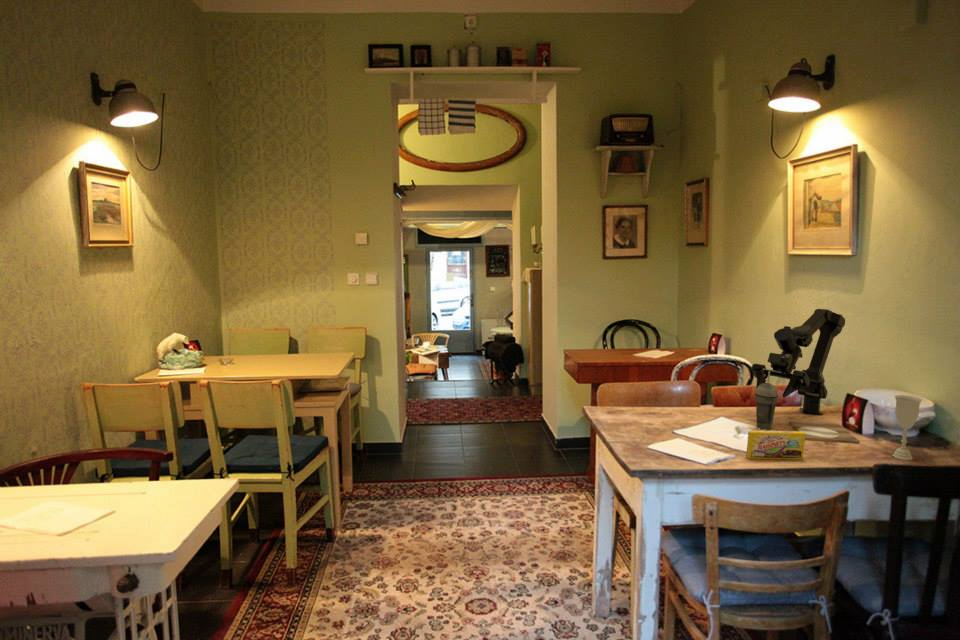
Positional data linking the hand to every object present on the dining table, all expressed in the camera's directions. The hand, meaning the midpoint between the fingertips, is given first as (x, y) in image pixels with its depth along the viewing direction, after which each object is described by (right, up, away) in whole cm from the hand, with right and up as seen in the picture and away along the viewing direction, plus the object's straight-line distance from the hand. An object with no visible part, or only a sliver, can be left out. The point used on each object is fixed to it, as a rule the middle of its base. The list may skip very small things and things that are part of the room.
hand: (769, 394), depth 222 cm
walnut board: (+16, -12, -4) cm, 20 cm away
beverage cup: (-2, -12, 0) cm, 12 cm away
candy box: (-12, -16, -30) cm, 36 cm away
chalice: (+27, -16, -28) cm, 42 cm away
